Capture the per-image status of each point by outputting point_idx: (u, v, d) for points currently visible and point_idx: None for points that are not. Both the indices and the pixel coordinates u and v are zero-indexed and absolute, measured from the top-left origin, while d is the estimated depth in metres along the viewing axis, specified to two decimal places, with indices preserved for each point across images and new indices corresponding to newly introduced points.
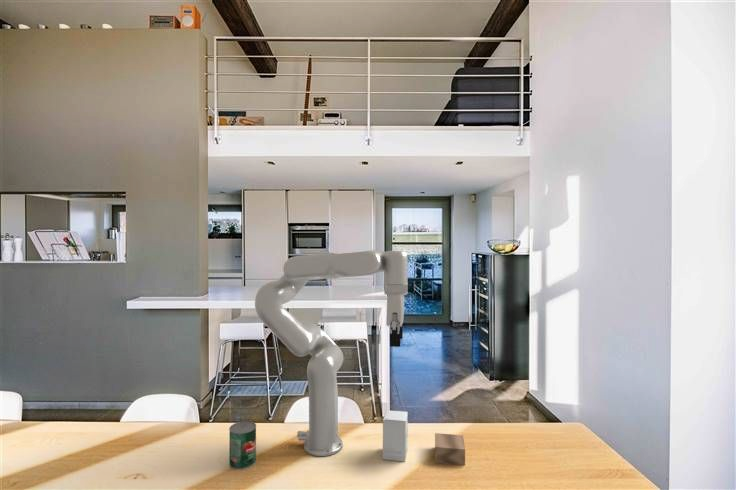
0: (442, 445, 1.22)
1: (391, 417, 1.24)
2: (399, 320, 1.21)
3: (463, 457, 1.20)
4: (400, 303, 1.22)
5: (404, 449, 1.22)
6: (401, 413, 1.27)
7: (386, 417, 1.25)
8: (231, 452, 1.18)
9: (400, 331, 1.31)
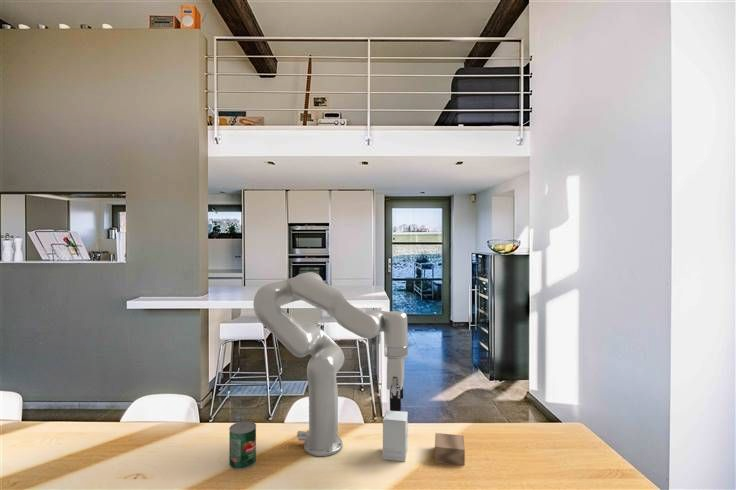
0: (441, 445, 1.22)
1: (391, 417, 1.24)
2: (399, 384, 1.21)
3: (462, 457, 1.20)
4: (400, 367, 1.21)
5: (404, 449, 1.22)
6: (401, 413, 1.27)
7: (386, 417, 1.25)
8: (231, 452, 1.18)
9: (401, 391, 1.30)
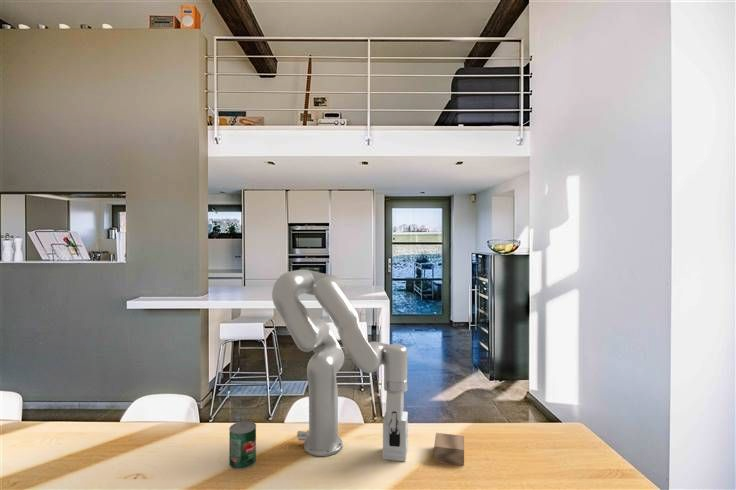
0: (441, 445, 1.22)
1: None
2: (398, 421, 1.21)
3: (462, 457, 1.20)
4: (400, 402, 1.21)
5: (404, 449, 1.22)
6: None
7: None
8: (231, 452, 1.18)
9: None
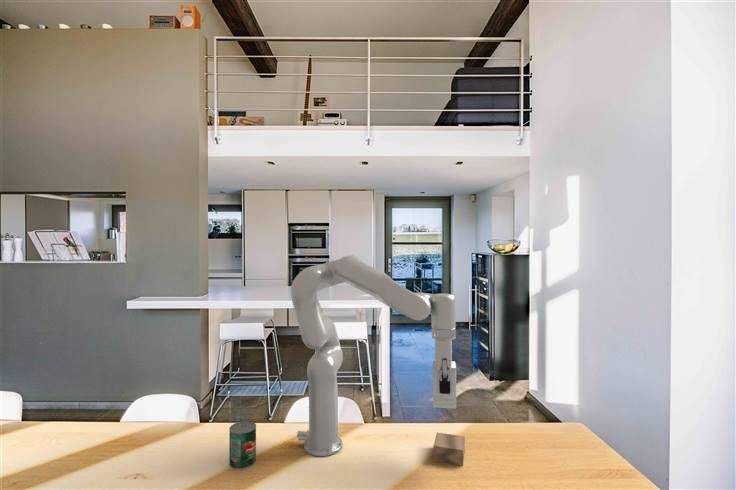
0: (440, 444, 1.23)
1: None
2: (449, 367, 1.20)
3: (461, 457, 1.20)
4: (450, 349, 1.20)
5: (455, 396, 1.21)
6: None
7: None
8: (231, 452, 1.18)
9: None
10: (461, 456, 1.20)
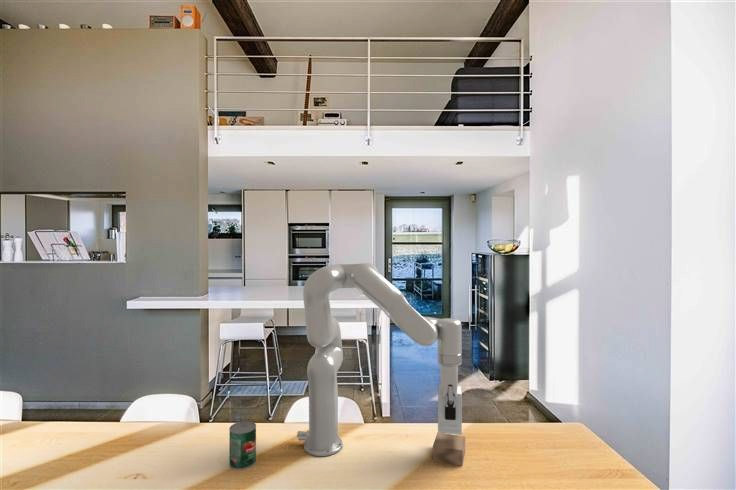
0: (440, 444, 1.23)
1: None
2: (455, 394, 1.20)
3: (460, 457, 1.20)
4: (456, 375, 1.20)
5: (460, 422, 1.21)
6: None
7: None
8: (231, 452, 1.18)
9: None
10: (460, 456, 1.20)
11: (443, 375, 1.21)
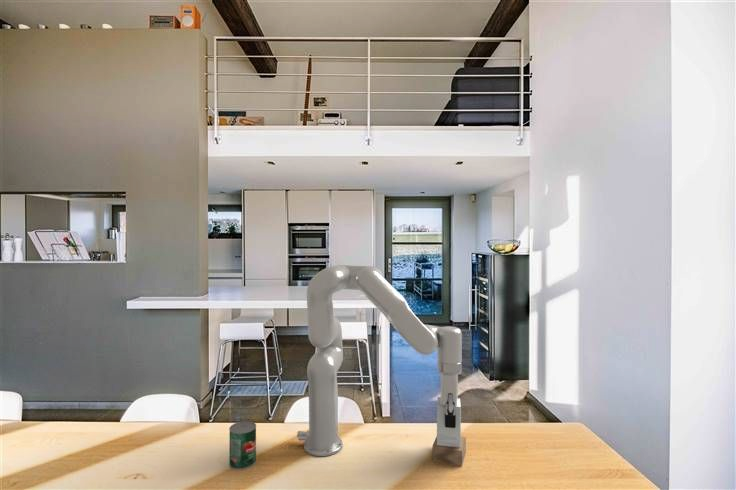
0: None
1: None
2: (455, 401, 1.20)
3: (460, 458, 1.19)
4: (456, 383, 1.20)
5: (459, 435, 1.21)
6: None
7: (440, 403, 1.24)
8: (231, 452, 1.18)
9: None
10: (460, 457, 1.19)
11: (443, 383, 1.21)
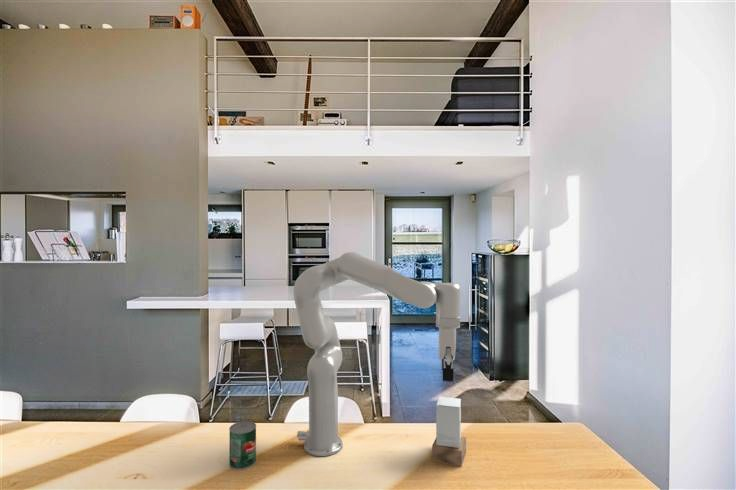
0: None
1: (444, 403, 1.24)
2: (453, 354, 1.20)
3: (459, 458, 1.19)
4: (454, 337, 1.21)
5: (458, 435, 1.21)
6: (454, 399, 1.26)
7: (440, 402, 1.24)
8: (231, 452, 1.18)
9: None
10: (460, 457, 1.19)
11: (441, 337, 1.21)
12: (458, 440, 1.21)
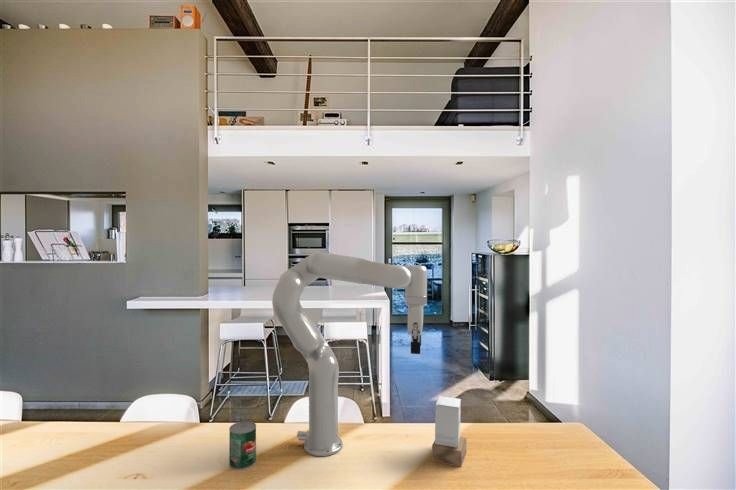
0: None
1: (444, 402, 1.24)
2: (419, 329, 1.32)
3: (459, 458, 1.19)
4: (420, 314, 1.33)
5: (457, 435, 1.21)
6: (454, 399, 1.26)
7: (439, 402, 1.24)
8: (231, 452, 1.18)
9: None
10: (459, 457, 1.19)
11: (409, 314, 1.33)
12: (457, 440, 1.21)
